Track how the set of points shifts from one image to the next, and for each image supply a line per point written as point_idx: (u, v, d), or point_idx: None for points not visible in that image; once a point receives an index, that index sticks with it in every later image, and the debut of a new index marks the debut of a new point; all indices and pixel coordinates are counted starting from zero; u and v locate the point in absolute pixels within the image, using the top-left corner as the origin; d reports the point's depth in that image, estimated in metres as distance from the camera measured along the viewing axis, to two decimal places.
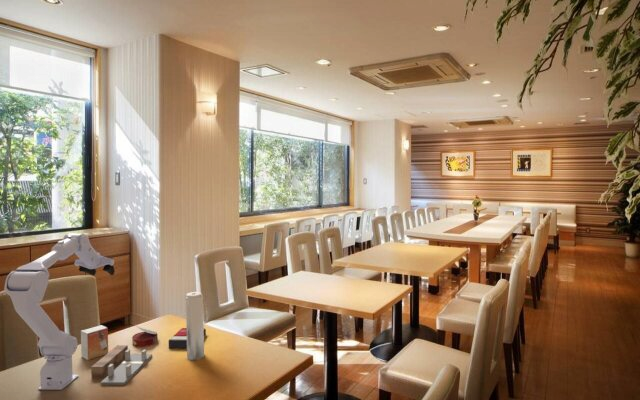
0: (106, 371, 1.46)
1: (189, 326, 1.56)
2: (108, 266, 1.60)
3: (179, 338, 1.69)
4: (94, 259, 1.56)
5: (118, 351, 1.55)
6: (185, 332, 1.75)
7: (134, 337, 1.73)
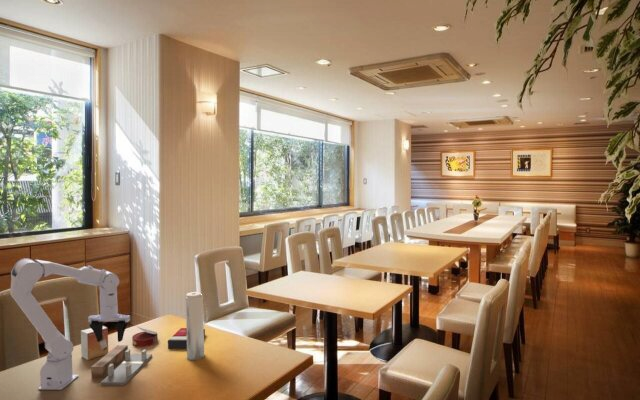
0: (106, 371, 1.46)
1: (189, 326, 1.56)
2: (122, 322, 1.50)
3: (178, 338, 1.69)
4: (113, 308, 1.50)
5: (118, 351, 1.55)
6: (184, 332, 1.75)
7: (134, 337, 1.73)
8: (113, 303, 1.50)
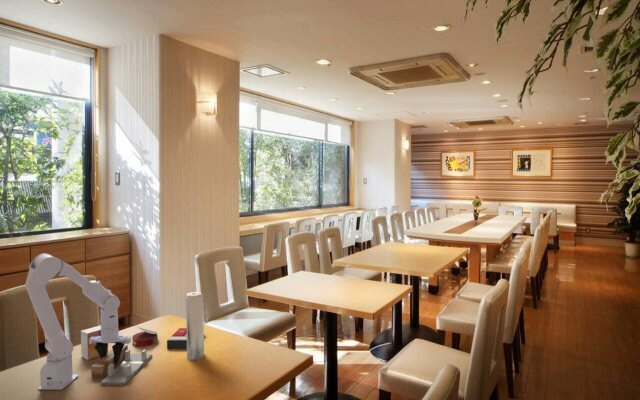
0: (106, 371, 1.46)
1: (189, 326, 1.56)
2: (118, 344, 1.51)
3: (177, 338, 1.69)
4: (114, 330, 1.50)
5: None
6: (183, 332, 1.75)
7: (134, 337, 1.73)
8: (114, 325, 1.50)
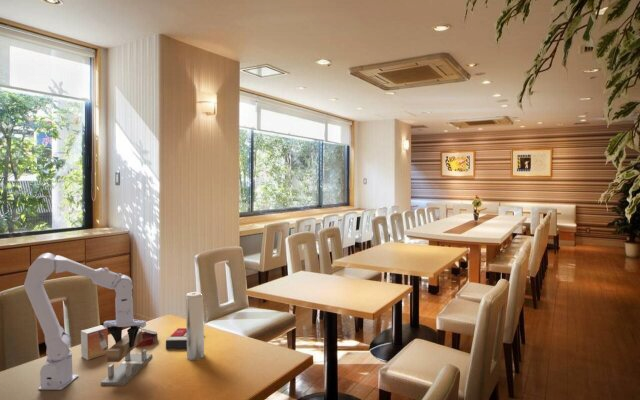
0: (122, 355, 1.43)
1: (189, 326, 1.56)
2: (134, 328, 1.47)
3: (176, 338, 1.69)
4: (129, 313, 1.47)
5: None
6: (181, 332, 1.75)
7: None
8: (126, 309, 1.46)
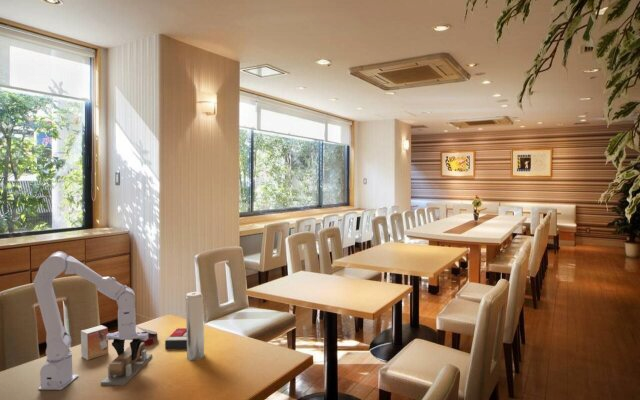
0: (124, 368, 1.42)
1: (189, 326, 1.56)
2: (136, 341, 1.47)
3: (176, 338, 1.68)
4: (132, 326, 1.47)
5: None
6: (181, 333, 1.75)
7: None
8: (128, 322, 1.46)
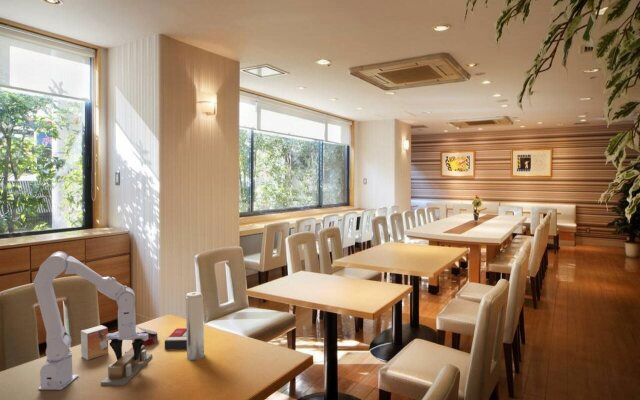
0: (124, 372, 1.42)
1: (189, 326, 1.56)
2: (138, 341, 1.47)
3: (175, 338, 1.68)
4: (132, 326, 1.47)
5: None
6: (180, 333, 1.75)
7: None
8: (128, 322, 1.46)
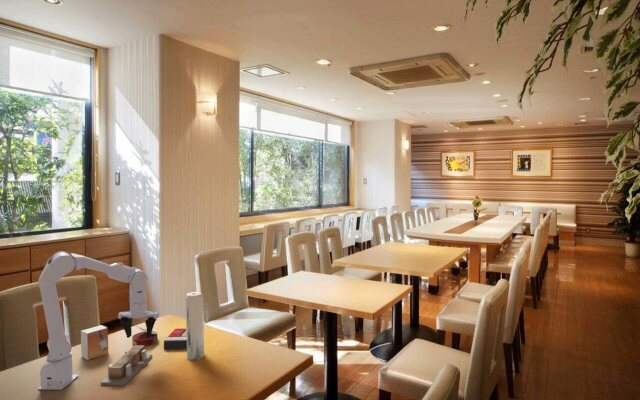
0: (124, 372, 1.42)
1: (189, 326, 1.56)
2: (151, 319, 1.54)
3: (174, 339, 1.68)
4: (143, 305, 1.53)
5: (135, 351, 1.52)
6: (179, 333, 1.75)
7: (134, 337, 1.73)
8: (141, 300, 1.53)
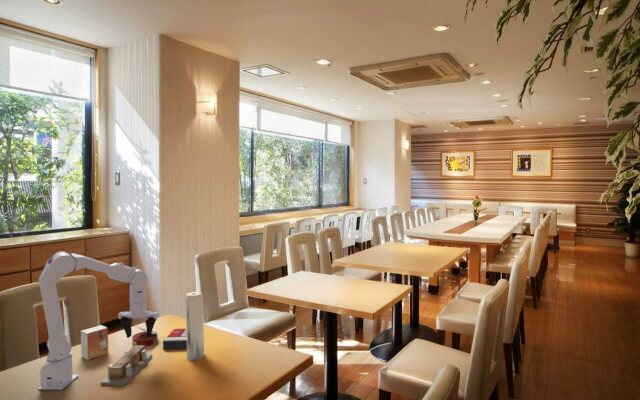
0: (124, 372, 1.42)
1: (189, 326, 1.56)
2: (151, 319, 1.54)
3: (174, 339, 1.68)
4: (143, 305, 1.54)
5: (135, 351, 1.52)
6: (178, 333, 1.75)
7: (134, 337, 1.73)
8: (141, 300, 1.53)
